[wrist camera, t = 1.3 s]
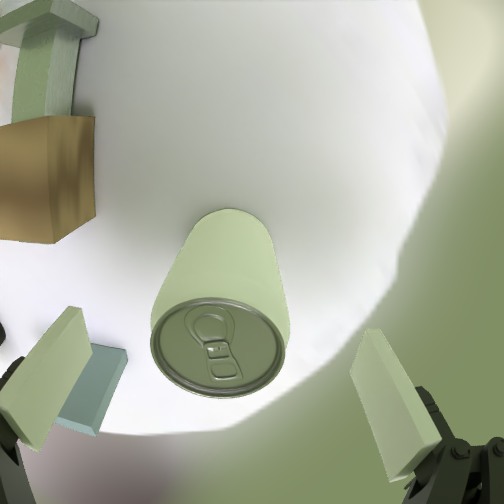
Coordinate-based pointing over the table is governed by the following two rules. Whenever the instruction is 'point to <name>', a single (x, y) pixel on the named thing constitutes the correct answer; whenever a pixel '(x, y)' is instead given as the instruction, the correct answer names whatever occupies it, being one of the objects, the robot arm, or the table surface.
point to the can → (222, 310)
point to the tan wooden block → (46, 177)
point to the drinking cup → (2, 334)
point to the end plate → (93, 390)
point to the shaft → (45, 55)
